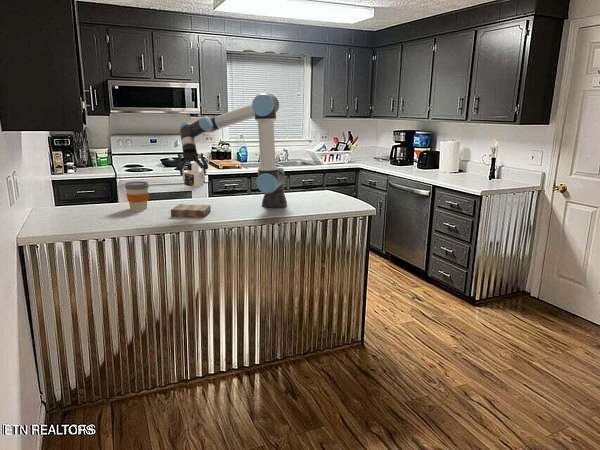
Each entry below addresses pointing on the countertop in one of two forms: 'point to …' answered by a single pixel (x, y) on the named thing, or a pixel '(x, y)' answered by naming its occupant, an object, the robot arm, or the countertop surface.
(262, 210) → the countertop surface
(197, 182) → the medicine bottle
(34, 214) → the countertop surface
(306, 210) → the countertop surface
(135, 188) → the reusable coffee cup
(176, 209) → the block
